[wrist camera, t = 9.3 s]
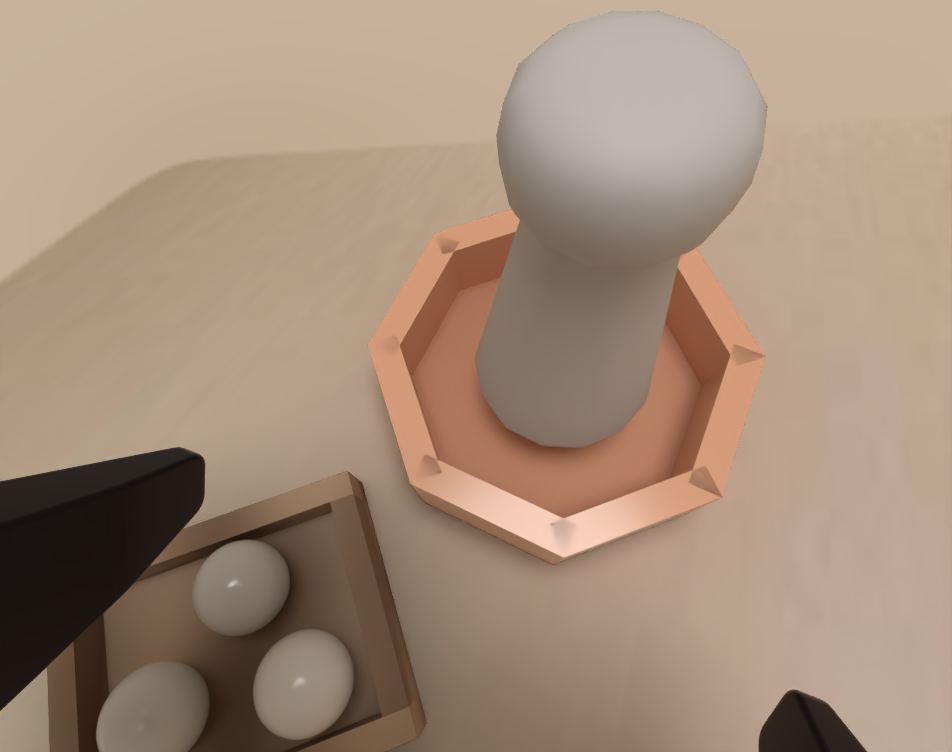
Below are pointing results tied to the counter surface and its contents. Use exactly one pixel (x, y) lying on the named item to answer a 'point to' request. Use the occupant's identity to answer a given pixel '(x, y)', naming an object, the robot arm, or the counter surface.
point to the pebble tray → (238, 657)
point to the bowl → (553, 468)
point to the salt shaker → (608, 212)
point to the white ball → (155, 710)
